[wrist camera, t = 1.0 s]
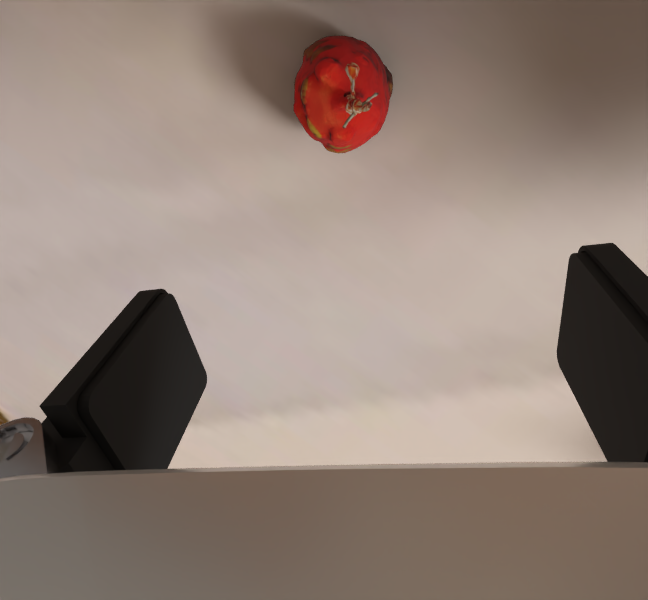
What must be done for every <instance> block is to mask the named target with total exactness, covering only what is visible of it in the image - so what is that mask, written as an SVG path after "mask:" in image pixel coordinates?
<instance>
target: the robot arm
mask: <svg viewBox="0 0 648 600" xmlns="http://www.w3.org/2000/svg"><path fill="white" fill-rule="evenodd" d="M557 359H558V363H559V366H560V368H561V370H562V372H563V374H564V376H565V378H566V380H567V382H568V384H569V386H570V388H571V390H572V392H573V394H574V396H575V398H576V400H577V402H578V404H579V406H580V408H581V410H582V412H583V414H584V416H585V418H586V420H587V422H588V424H589V426H590V428H591V430H592V431H593V433H594V435H595V437H596V439H597V441H598V443H599V445H600V447H601V449H602V451H603V453H604V455H605V457H606V459H607V461H608V462H505V463H435V464H372V465H319V466H270V467H225V468H186V469H167V468H168V466H169V464H170V462H171V460H172V458H173V455H174V453H175V451H176V449H177V447H178V445H179V443H180V440H181V438H182V436H183V434H184V432H185V430H186V428H187V426H188V423H189V421H190V419H191V417H192V415H193V413H194V411H195V408H196V406H197V404H198V402H199V400H200V398H201V396H202V394H203V391H204V389H205V387H206V384H207V375H206V371H205V369H204V367H203V364H202V362H201V359H200V357H199V355H198V352H197V350H196V347H195V345H194V343H193V340H192V338H191V335H190V333H189V331H188V328H187V326H186V323H185V321H184V319H183V316H182V314H181V311H180V309H179V307H178V304H177V302H176V300H175V298H174V296H173V295H172V294H168V293H167V292H166V291H165V290H164V289H156V290H146V291H140V292H139V293H137V294H136V296H135V297H134V298H133V299H132V300H131V301H130V303H129V304H128V305H127V306H126V307H125V308H124V309H123V311H122V312H121V313H120V314H119V315H118V316H117V317H116V319H115V320H114V321H113V322H112V323H111V324H110V326H109V327H108V328H107V329H106V330H105V331H104V332H103V334H102V335H101V336H100V337H99V338H98V339H97V340H96V342H95V343H94V344H93V345H92V346H91V347H90V349H89V350H88V351H87V352H86V353H85V354H84V355H83V357H82V358H81V359H80V360H79V361H78V362H77V364H76V365H75V366H74V367H73V368H72V369H71V370H70V372H69V373H68V374H67V375H66V376H65V377H64V378H63V380H62V381H61V382H60V383H59V384H58V385H57V387H56V388H55V389H54V390H53V391H52V392H51V393H50V395H49V396H48V397H47V398H46V399H45V400H44V401H43V403H42V404H41V405H40V408H41V409H42V410H43V412H44V413H45V415H46V416H47V418H46V419H45V420H44V421H43V423H42V424H41V422H40V421H39V420H37V419H35V418H20V419H16V420H12V421H10V422H7V423H5V424H2V425H1V426H0V600H648V276H646V275H645V274H644V273H643V272H642V271H641V270H640V269H639V268H638V267H637V266H636V265H635V264H634V263H633V262H632V261H631V260H630V259H629V258H628V257H627V256H626V255H625V254H624V253H623V252H622V251H621V250H620V249H619V248H618V247H617V246H616V245H615V244H613V243H606V244H596V245H587V246H582V247H581V248H580V249H579V251H578V253H573V254H571V256H570V258H569V264H568V271H567V279H566V286H565V294H564V301H563V309H562V316H561V324H560V331H559V339H558V346H557Z"/></svg>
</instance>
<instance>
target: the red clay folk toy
mask: <svg viewBox="0 0 648 600" xmlns="http://www.w3.org/2000/svg"><path fill="white" fill-rule="evenodd" d="M294 86H295V95H294V112H295V114H296V116H297V117H298V119H299V121H300V123H301V124H302V125H303V127H304V129H305V130H306V132H307V133H308V134H309V135H310V136H311V137H312V138H313V139H314V140H316V141H319V142H321V143H322V144H323V145H324V147H325V148H326V149H327V150H328V151H331V152H335V153H346V152H348V151H351V150H353V149H356V148H358V147H359V146H361V145H362V144H364V143H365V142H367V141H368V140H369V139H370V138H371V137H373V136H374V135H376V134H377V133H378V132H379V130H380V129H381V127H382V125H383V123H384V121H385V118H386V115H387V112H388V107H389V99H390V97H391V94H392V90H393V89H392V88H393V82H392V74H391V73H390V72H389V70H388V69H387V67H386V66H385V65H384V64H383V63H382V61H381V59H380V57H379V56H378V54H377V53H376V52H375V51H374V50H373V48H371V47H370V46H369V45H368V44H367V43H366V42H364V41H361V40H357V39H355V38H353V37H348V36H329V37H324V38H322V39H320V40H318V41H316V42H314V43H313V44H312V45H311V46H309V47H308V48H307V49H306V50H305V51H304V57H303V64H302V66H301V68H300V70H299V72H298V73H297V76H296V78H295V84H294Z"/></svg>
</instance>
